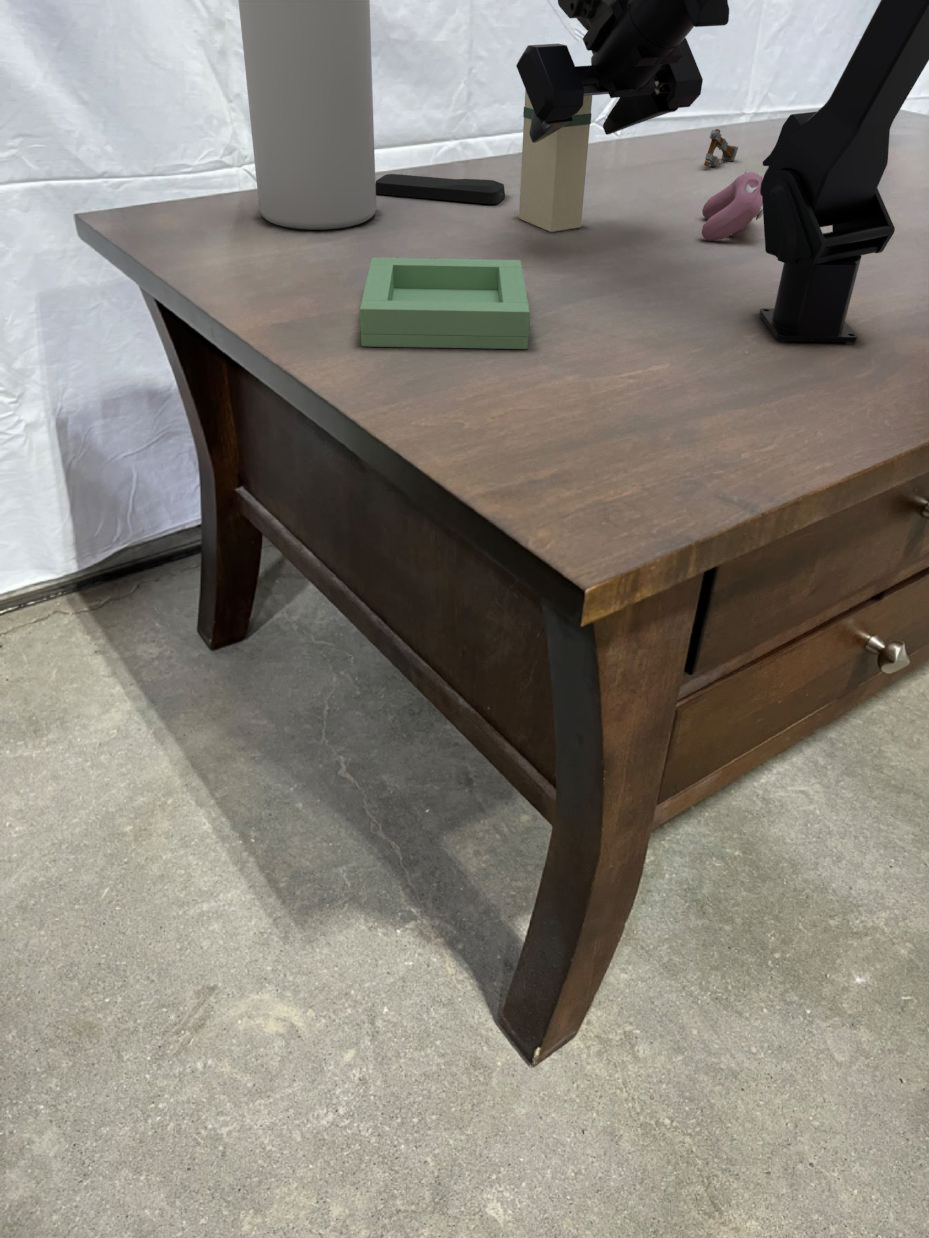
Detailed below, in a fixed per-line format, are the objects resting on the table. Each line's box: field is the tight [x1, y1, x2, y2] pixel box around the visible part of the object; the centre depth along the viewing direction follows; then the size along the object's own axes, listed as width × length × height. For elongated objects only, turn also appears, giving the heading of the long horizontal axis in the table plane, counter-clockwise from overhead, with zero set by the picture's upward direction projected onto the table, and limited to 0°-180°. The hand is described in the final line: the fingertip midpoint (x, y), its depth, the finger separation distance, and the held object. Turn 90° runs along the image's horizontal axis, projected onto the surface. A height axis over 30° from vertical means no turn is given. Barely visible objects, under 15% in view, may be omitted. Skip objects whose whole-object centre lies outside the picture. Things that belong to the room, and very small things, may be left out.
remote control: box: [375, 173, 506, 205], centre depth 115 cm, size 5×2×15 cm
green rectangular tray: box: [359, 256, 531, 350], centre depth 81 cm, size 13×13×3 cm
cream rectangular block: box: [518, 88, 593, 233], centre depth 103 cm, size 6×4×13 cm
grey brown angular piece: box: [703, 128, 739, 168], centre depth 130 cm, size 2×8×4 cm, turn 145°
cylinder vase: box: [238, 0, 377, 231], centre depth 99 cm, size 12×12×25 cm
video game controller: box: [701, 170, 764, 242], centre depth 104 cm, size 10×5×7 cm, turn 169°
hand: (569, 134), depth 100 cm, fingers open, 9 cm apart
